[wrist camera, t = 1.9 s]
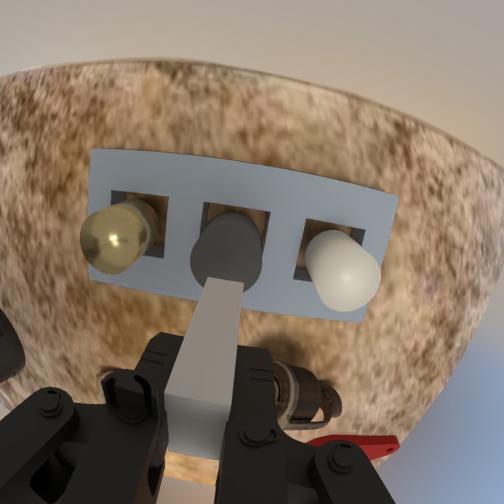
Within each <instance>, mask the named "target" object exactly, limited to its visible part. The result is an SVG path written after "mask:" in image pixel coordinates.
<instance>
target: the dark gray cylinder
mask: <svg viewBox="0 0 504 504" xmlns="http://www.w3.org/2000/svg"><path fill="white" fill-rule="evenodd" d="M190 267H191V271H192V273H193V276H194V278H195V279H196V281H197V282H198V283H199V284H200V285H201V286H202V287H203V288H204V286H205V283H206V281H207V278H208V277H211V278H217V279H223V280H229V281H235V282H241V283H244V286H243V293H244V292H245V291H247V290H249V289H250V288H251V287H252V286H253V285H254V284H255V283H256V282H257V280H258V278H259V276H260V274H261V270H262V252H261V240H260V234H259V230H258V228H257V227H256V225H255V224H254V222H253V221H252V220H251V219H249V218H248V217H246V216H245V215H242V214H240V213H234V212H228V213H223V214H220V215H218V216H216V217H215V218H214V219H212V220H211V221H210V222H209V224H208V225H207V227H206V228H205V230H204V231H203V233H202V234H201V236H200V237H199V238H198V240H197V241H196V243H195V244H194V246H193V248H192V251H191V255H190Z"/></svg>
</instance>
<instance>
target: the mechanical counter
mask: <svg viewBox="0 0 504 504" xmlns="http://www.w3.org/2000/svg"><path fill="white" fill-rule="evenodd" d="M273 365H274V383H275V396H276V412H277V420H278V424H279V426H280V427H281V428H282V429H283V430H313V429H318V428H322V427H324V426H326V425H327V424H328V423H329V421H330V419H331V417H338V416H340V414H341V413H342V402H341V399H340V396H339V394H338V393H337V392H336V390H335V389H333V388H332V387H330V386H329V385H327V384H325V383H322V382H320V383H319V381H318V379H317V378H316V377H315V375H314V374H313V373H312V372H311V371H309V370H308V369H305V368H301V367H297V366H294V365H290V364H286V363H283V362H281V361H276V360H273ZM319 407H320V408H321V410H322V411H323V413H324V420H323V421H319V422H310V421H311V420H312V419H313V418H314V417H315V415H316V413H317V412H318V410H319Z"/></svg>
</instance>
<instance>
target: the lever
mask: <svg viewBox="0 0 504 504" xmlns="http://www.w3.org/2000/svg"><path fill="white" fill-rule="evenodd" d="M341 439H342V440H346V441H350V442H353V443H354V444H356V445H358V446H359V447H360V448H361V449H362V450H363V451H364V452H365V453H366V455H367V457H368V458H369V460H373V459H376V458H380V457H383V456H386V455H389V454H391V453H393V452H395V451H396V450H397V449H399V447H400V445H399V442H398V440H397V438H396V436H394V435H390V436H356V435H328V436H323V437H319V438H316V439H313V440H311V441H309V442H307V444H310V445H314V446H317V447H321V445H322V444H324V443H326V442H328V441H331V440H341Z"/></svg>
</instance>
